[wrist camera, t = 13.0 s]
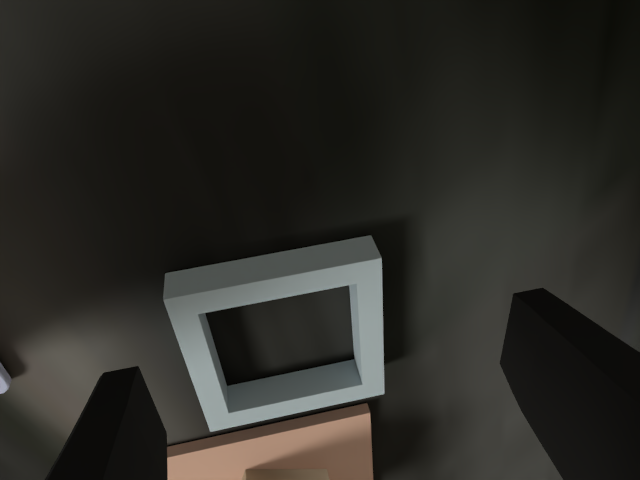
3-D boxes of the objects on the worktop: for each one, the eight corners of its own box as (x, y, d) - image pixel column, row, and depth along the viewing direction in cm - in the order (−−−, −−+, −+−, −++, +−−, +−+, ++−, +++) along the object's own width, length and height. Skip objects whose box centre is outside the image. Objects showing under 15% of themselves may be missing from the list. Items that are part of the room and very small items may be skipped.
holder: (209, 404, 24) (210, 431, 23) (165, 273, 20) (162, 299, 18) (375, 368, 25) (384, 393, 24) (370, 235, 21) (381, 257, 19)
